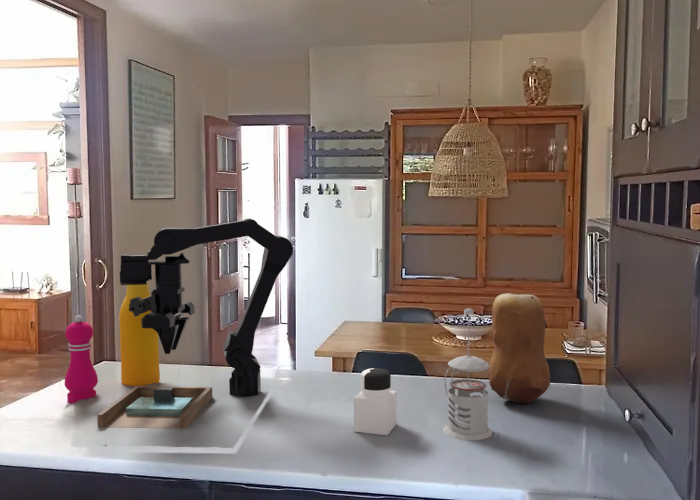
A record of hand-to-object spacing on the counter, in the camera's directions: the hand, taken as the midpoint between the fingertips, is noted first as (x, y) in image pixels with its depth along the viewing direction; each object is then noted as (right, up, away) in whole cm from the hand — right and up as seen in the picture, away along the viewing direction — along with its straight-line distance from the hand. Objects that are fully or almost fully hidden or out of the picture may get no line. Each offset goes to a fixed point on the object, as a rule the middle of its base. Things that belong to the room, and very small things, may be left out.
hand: (170, 351), depth 151 cm
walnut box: (-1, -13, -7) cm, 15 cm away
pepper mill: (-22, -12, +4) cm, 25 cm away
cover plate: (0, -12, -6) cm, 13 cm away
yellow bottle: (-12, -11, +16) cm, 23 cm away
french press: (+64, -13, -17) cm, 68 cm away
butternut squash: (+79, -12, +1) cm, 80 cm away
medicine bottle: (+46, -13, -16) cm, 50 cm away
